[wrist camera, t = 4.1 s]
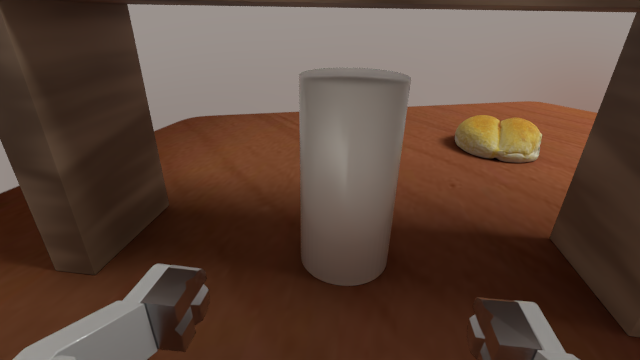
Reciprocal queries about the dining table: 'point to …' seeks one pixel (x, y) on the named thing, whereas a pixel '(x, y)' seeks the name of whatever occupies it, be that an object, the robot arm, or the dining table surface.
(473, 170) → the dining table surface
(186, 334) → the robot arm
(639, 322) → the arch
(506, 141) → the bread roll
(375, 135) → the white cylinder
